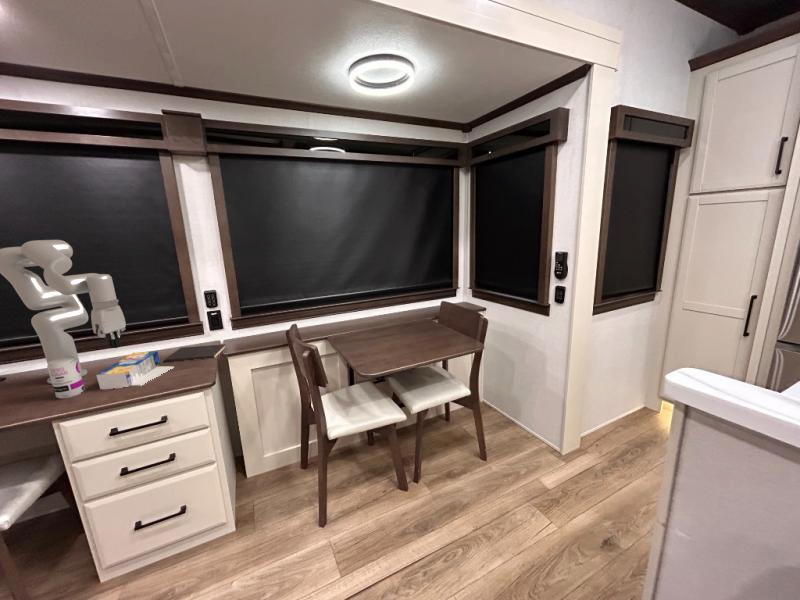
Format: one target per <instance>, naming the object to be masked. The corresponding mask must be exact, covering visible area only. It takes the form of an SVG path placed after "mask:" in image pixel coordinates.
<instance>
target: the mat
mask: <svg viewBox="0 0 800 600" xmlns="http://www.w3.org/2000/svg"><path fill="white" fill-rule="evenodd" d="M174 368H175V366H170V365H169V366H167V365H166V366H164V365H163V366H160V365H159V366H157V367H156V368H154V369H153V370H151V371H150V372H148V373H147V374H145V375H144V376H142V377H141V378H140V379H138V380H137V381H135V382H134V383H132V384H131V385H130V387H142V385H143V386H145V385H146V384H147V382H148V381H150V380H151V381H153V380H155V379H157V378H158V377H160V376H162V375H163V373H164V374H165V373H167V372H169V371H170V369H171V370H173V369H174ZM168 370H169V371H168ZM161 374H162V375H161ZM156 377H157V378H156ZM154 378H155V379H154ZM152 379H153V380H152ZM151 381H150V382H151ZM145 383H146V384H145ZM148 383H149V382H148Z"/></svg>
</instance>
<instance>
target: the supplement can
mask: <svg viewBox="0 0 800 600" xmlns="http://www.w3.org/2000/svg"><path fill="white" fill-rule="evenodd" d="M48 363H49V364H48ZM48 363H47V366H46V368H47V371H49V374H48V375H49V378H51V381H52V384H51V385H52V387H53V391H54V394H55V398H57V399H62V400H63V399H69V398H73V397H75V396H78V395H80V394H82V393H83V392H84V391H85V390H86V388H85V384H84V381H83V378H82V377H83V376H82V377H81V373H80V370H79V366H78V363H77V360H76V359H75V358H74V357H63V358H58V359H55V360H52V361H50V362H48ZM81 392H82V393H81Z"/></svg>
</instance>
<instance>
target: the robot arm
mask: <svg viewBox="0 0 800 600" xmlns="http://www.w3.org/2000/svg"><path fill="white" fill-rule="evenodd" d="M73 253H74V249H73V247H72V245H70V244H69V243H68V242H66V241H64V240H62V239H43V240H42V239H39V240H37V239H36V240H29V241H26V242H25V243H23V244H22V245H21V246H13V247H12V246H10V247H2V248H0V274H1V276H3V277H4V278H5V279H6V280H7V281H8V282H9V283H10V284H11V286H12V287H13V288H14V290H15V292H16V294H18V296H19V298H20V300H21V301H22V302H23V304H24V305H25V306H26V307H27V308H28V309H29V310H31V311H40V310H41V311H42V310H45V309H46V310H45V311H42V312H38V313H37V314H34V315H33V317H32V318H31V320H30V322H31V326H32V327H33V329H34V331H35V333H36V334H37V336H38V338H39V341H40V343H41V347H42V349H43V353H44V357H45V359H46V362H47V365H48V364H49V363H48V362H50V361H52V360H55V359H58V358H63V357H74V358H75V359H76V360H77V363H78V366H79V370H80V373H81V377H84V376H86V375H87V374H88V370H87V369H85V368H82V366H81V363H80V358H79V355H78V352H77V347H76V344H75V341H74V338H73V336H72V335H70V334H69V333H67V332H65V331H64V330H67V329H72V328H75V327H79V326H82V325H85V324H86V323H88V321H89V315H88V312H87V310H86V308H85V307H84V305H83V303H82V302H81V300H80V298H79V297H78V295H80V294H86V293H88V294H89V297H90V302H91V305H92V310H90V311H91V314H90V317H91V327H92V330H93V331H92V332H93V334H94V335H97V338H101V339H106V340H108V343H109V347H110V348H111V349H118V348H120V347H122V345H121V340H120V337H121V333H123V332H124V331H125V330H126V325H127V323H126V319H125V318H126V317H125V316H124V312H123V310H122V308H121V306H120V305H119V299H117V296H116V291H115V285H114V282H113V278H112V276H111V275H110V274H108V273H107V274H106V273H101V274H100V273H97V272H96V273H95V272H90V273H82V274H72V275H64V274H65V273H67V272H68V271H69V270H70V269H71V268H72V267H73V262H72V260H71V257H72V256H73ZM37 266H38V267H40V268H41V269H43V278H44V280H45V282H43V280H42V278H41V276H39V275H38V274H36V273H34V272H33V271H32V270H29V269H26V267H27V268H28V267H37ZM45 283H46V284H47V285H46V284H45ZM56 307H60V308H56ZM51 308H54V309H51ZM47 309H49V310H47ZM44 373H45V375H49V371H48V370H47V371H45V372H44ZM46 382H47V384H51V385H52V381H51V378H50V377H48V378H47V380H46Z"/></svg>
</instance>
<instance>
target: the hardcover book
mask: <svg viewBox="0 0 800 600" xmlns="http://www.w3.org/2000/svg"><path fill="white" fill-rule="evenodd" d="M225 348H226V343H223V344H213V345H212V344H211V345H198V346H189V347H188V346H185V347H180V348H178V349H177V350H175V351H174V352H173V353H172V354H170V355H169V356H166V358H165V359H164V363H165V362H167V363H175V362H174V361H178V362H185V361H184V360H190V361H195V360H194V359H202V360H205V359H204V358H213V359H216V357H217V356H218V355H219V354H220V353H221V352H222V351H224V349H225Z"/></svg>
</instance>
